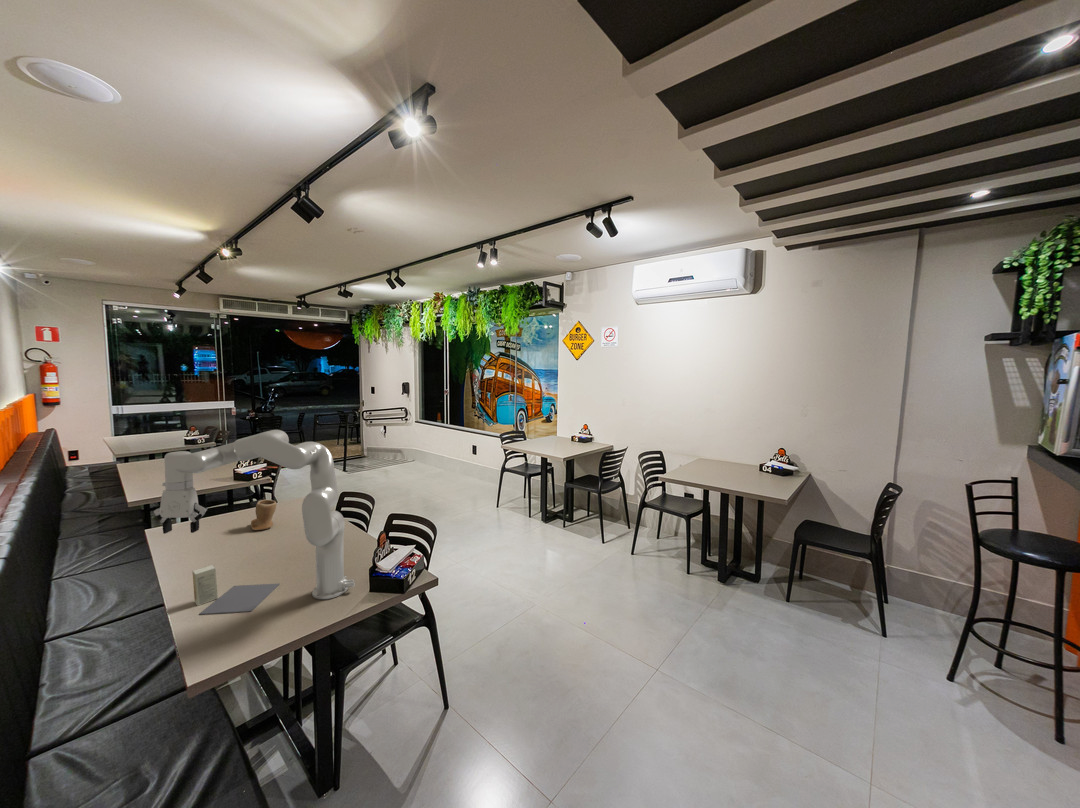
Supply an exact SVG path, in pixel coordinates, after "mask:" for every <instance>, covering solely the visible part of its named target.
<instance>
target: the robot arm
mask: <svg viewBox="0 0 1080 808" xmlns="http://www.w3.org/2000/svg"><path fill="white" fill-rule="evenodd" d="M257 458H262V459H264V460H267V461H269V462H270V463H271V462H272V463H273V464H277V465H279V466H281V467H283V468H287V469H288V470H289V469H290V470H300V469H303V468H305V467H307V466H310V471H309V479H310V480H309V481H310V486H311V488H310V489H311V491H310V492H309V493H308V494H306V495H305V497H304V498H303V500H302V504H301V513H302V515H301V516H302V521H303V528H304V529H303V530H304V535H305V539H306V540H307V542H308V543H309V544H310V545H312V546H314V547H315V576H316V586H315V587H314V588H313V590H312V592H311V594H312V595H311V596H312V597H313V598H314V599H317V600H330V599H334V598H336V597H337V598H338V597H340V596H342V595H343V594H345V593H346V592H347V591H348V590H349V588H354V587H355V585H356V584H355V583H356V582H355V579H348V578H347V575H344V574H345V573H344V572H345V571H344V570H345V569H344V567H345V566H344V565H345V564H344V563H345V562H344V533H345V518H344V516H343V514H342V513H341V512H339V511H338V510H331V509H332V508H334V507H335V505H337V503H338V501H339V492H338V485H337V478H336V472H335V471H336V470H335V463H334V458H333V455H332V453H331V451H330V450H329V449H328V448H327V447H326V446H325V445H323V444H322V443H319V442H316V441H304V442H301V443H298V444H296V445H294V444H291V443H290V439H289V436H288V434H287V433H286V432H285V431H284V430H281V429H271V430H267V431H263V432H260V433H257V434H253V435H249V436H246V437H242V438H238V439H236V440H235V441H234V442H231V443H227V444H224V445H220V446H216V447H211V448H208V449H204V450H200V451H195V452H190V451H187V450H185V451H184V450H183V451H179V450H178V451H172V452H167V453H166V454H165V455H164V457H163V459H164V481H165V482H163V483H162V487H165V489H164V490H163V491H162V492H161V493H162V494H161V499H160V505H159V506H160V507H159V508H156V509H155V510H153V513H154V515H155V516H156V518H157V519H158V520H159V522H160V523H161V524H162V533H163V534H164V535H165V534H168V533H170V532H172V531H173V521H172V519H180V518H181V519H182V518H183V519H184V518H188V519H189V520H191V522H190V523H189V526H190V527H189V528H190V533H191V534H193V533H196V532H198V531H199V530H200V520H201V519H202V518H203V517H204V516H205V514H206V512H207V511H208V508H206V507H204V506H202V505H200V504H199V497H198V493H197V489H196V488H195V487H194V474H201V473H205V472H207V471H210V470H212V469H215V468H219V467H222V466H226V465H229V464H233V463H236V462H240V461H242V462H247V461H250V460H253V459H257ZM198 512H199V513H198Z"/></svg>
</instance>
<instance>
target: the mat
mask: <svg viewBox="0 0 1080 808" xmlns="http://www.w3.org/2000/svg"><path fill="white" fill-rule="evenodd" d="M279 586H280V583H263V584H245V585H244V584H243V585H241V584H240V585H233V586H232V587H230V588H229V589H228V590H227V591H226V592H224V593H223V594H221V596H218V599H215V600H213V602H212V603H210V604H209V605H208V606H207V607H205V608H204V609H203V610H201V612H199V613H198V616H201V615H218V614H219V615H223V614H236V613H237V614H238V613H252V612H253V611H254V610H255V609H256V608H257V607H258V606H259V605H260V604H261V603H262V602H263V601H264V600H265V599H266V598H267V597H268V596H269V595H270V594H272V593H273V591H275V589H277V587H279Z"/></svg>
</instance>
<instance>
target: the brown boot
mask: <svg viewBox="0 0 1080 808" xmlns="http://www.w3.org/2000/svg"><path fill="white" fill-rule="evenodd" d="M276 509H277V502H276V500H273V499H261V500H258V501H257V503H256V505H255V516H256V518H254V519H253V520H251V521H250V527H251V529H252V530H253V531H261V530H262V531H263V530H267V529H271V528H272V527H273V525H274V523H273V520H272V519H273V516H274V514H275V511H276Z"/></svg>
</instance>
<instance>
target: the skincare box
mask: <svg viewBox="0 0 1080 808" xmlns="http://www.w3.org/2000/svg"><path fill="white" fill-rule="evenodd" d="M191 573H192V582H193V583H192V584H193V595H194V596H193V597H194V599H193V600H194V603H195V604H196V606H197V607H198V606H201V605H204V604H206V603H210V602H212V601H216V600H217V599H218V598H219V595H218V582H217V568H216V567H215V565H214V564H211V565H208V566H203V567H201V568H198V569H195V570H192V572H191Z"/></svg>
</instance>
